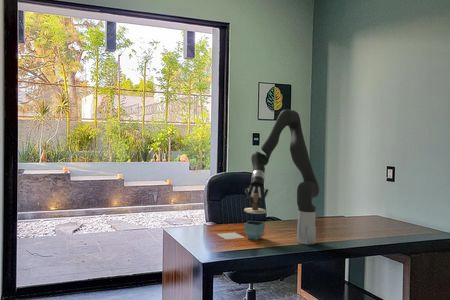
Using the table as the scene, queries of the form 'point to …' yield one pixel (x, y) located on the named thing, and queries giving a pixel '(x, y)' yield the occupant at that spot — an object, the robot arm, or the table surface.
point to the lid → (255, 206)
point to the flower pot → (254, 229)
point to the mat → (230, 235)
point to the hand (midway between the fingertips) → (255, 204)
